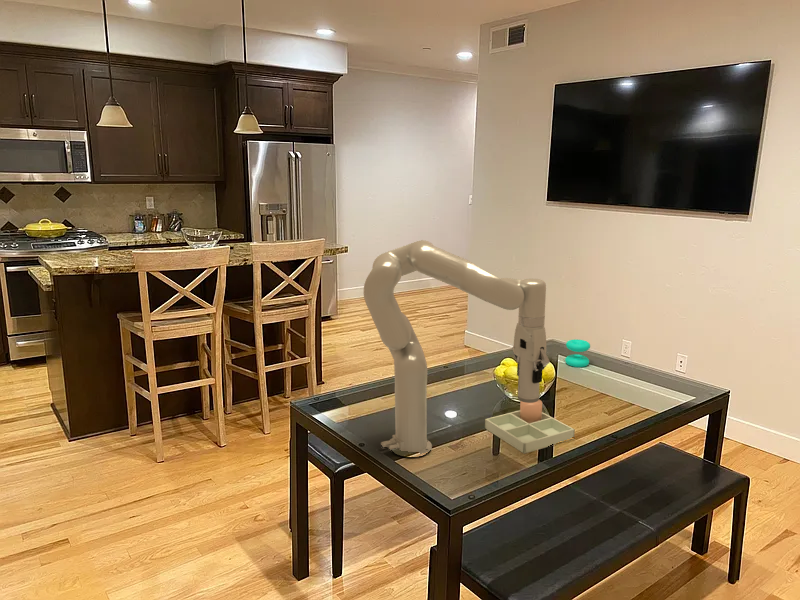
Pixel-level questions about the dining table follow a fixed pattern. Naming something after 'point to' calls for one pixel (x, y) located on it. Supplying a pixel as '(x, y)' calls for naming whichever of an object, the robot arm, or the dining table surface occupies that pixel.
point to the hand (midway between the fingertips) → (529, 378)
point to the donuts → (577, 359)
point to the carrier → (528, 431)
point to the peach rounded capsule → (531, 411)
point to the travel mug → (526, 378)
